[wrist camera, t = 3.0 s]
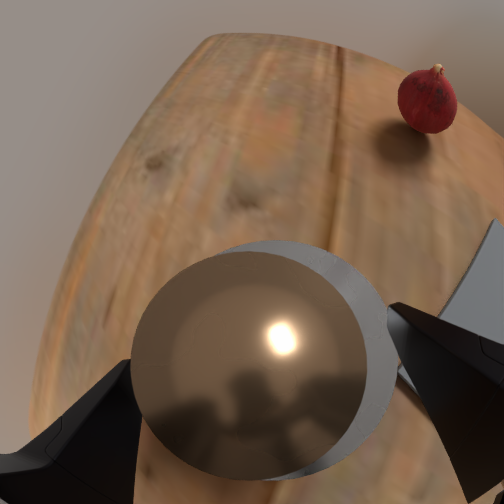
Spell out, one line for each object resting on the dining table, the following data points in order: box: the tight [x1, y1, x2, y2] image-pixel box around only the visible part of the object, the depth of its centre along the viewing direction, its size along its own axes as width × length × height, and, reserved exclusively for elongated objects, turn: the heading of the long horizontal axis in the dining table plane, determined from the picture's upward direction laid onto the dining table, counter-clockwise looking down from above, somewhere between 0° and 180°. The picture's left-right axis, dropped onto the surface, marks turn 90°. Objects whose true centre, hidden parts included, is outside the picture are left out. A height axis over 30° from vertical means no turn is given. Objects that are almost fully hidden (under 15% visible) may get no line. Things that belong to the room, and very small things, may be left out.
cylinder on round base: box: [131, 240, 398, 480], centre depth 9 cm, size 12×12×9 cm
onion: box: [398, 64, 457, 134], centre depth 18 cm, size 6×6×8 cm
